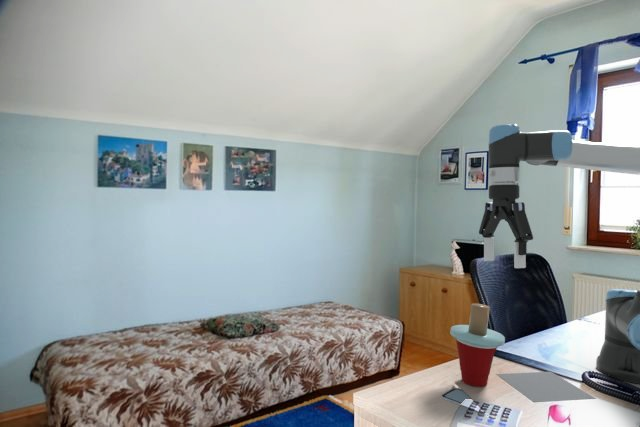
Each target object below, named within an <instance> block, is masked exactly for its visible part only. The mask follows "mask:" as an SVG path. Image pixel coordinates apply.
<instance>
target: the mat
mask: <svg viewBox="0 0 640 427" xmlns="http://www.w3.org/2000/svg"><path fill="white" fill-rule="evenodd" d="M495 375H497V376H498V377H499V378H500V379H502V380H503V381H504V382H506V383H507V384H508V385H510V386H511V387H513V388H514V389H515V390H516V391H518V392H519V393H521V394H522V395H523V396H524V397H526V398H528V400H531V401H532V402H533V403H540V402H542V403H543V402H558V401H559V402H560V401H561V402H562V401H577V400H594V399H597V398H596V397H594V396H593V395H591V394H590V393H588V392H586V391H585V390H583V389H581V388H580V387H578V386H576V385H574V384H573V383H571V382H570V381H568V380H566V379H564V378H563V377H561V376H559V375H557V374H555V373H554V372H553V371H534V372H533V371H532V372H516V373H515V372H513V373H512V372H511V373H496V374H495Z"/></svg>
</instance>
